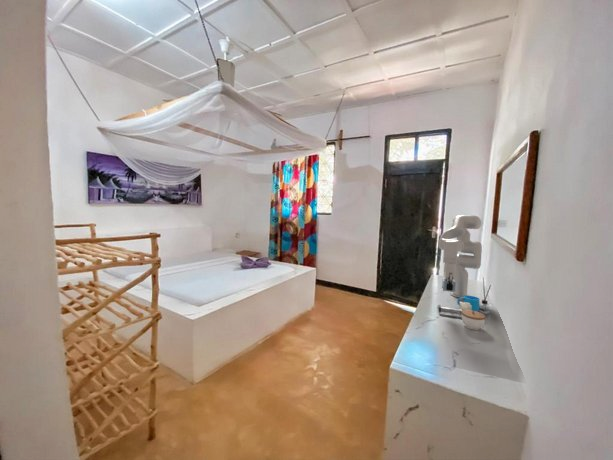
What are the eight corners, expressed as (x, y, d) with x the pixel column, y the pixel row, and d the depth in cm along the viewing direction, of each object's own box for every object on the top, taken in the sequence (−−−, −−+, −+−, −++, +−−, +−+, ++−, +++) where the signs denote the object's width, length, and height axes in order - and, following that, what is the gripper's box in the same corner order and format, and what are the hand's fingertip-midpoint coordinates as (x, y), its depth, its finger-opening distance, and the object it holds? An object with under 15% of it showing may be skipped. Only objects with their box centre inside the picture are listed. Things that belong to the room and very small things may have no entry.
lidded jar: (488, 333, 127) (489, 315, 126) (465, 330, 129) (467, 313, 128) (478, 323, 137) (479, 307, 137) (457, 322, 140) (458, 306, 139)
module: (441, 287, 156) (442, 278, 156) (453, 288, 154) (454, 279, 153) (443, 290, 150) (443, 281, 150) (455, 292, 147) (455, 282, 147)
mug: (478, 309, 158) (479, 297, 158) (478, 313, 152) (479, 301, 151) (457, 305, 165) (457, 293, 165) (456, 309, 159) (457, 296, 158)
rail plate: (437, 307, 161) (437, 296, 161) (469, 311, 154) (469, 300, 154) (439, 315, 148) (440, 304, 148) (474, 320, 141) (475, 308, 141)
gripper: (441, 257, 160) (440, 283, 161) (445, 262, 144) (443, 291, 145) (454, 258, 157) (453, 285, 158) (459, 263, 141) (457, 293, 142)
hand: (448, 288), depth 152 cm, fingers closed on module, 6 cm apart
